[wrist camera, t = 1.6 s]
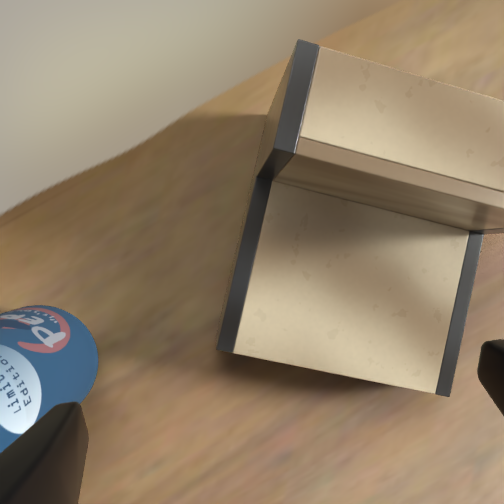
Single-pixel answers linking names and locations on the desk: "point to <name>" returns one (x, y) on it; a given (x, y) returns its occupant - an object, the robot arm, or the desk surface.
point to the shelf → (365, 222)
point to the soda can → (41, 365)
